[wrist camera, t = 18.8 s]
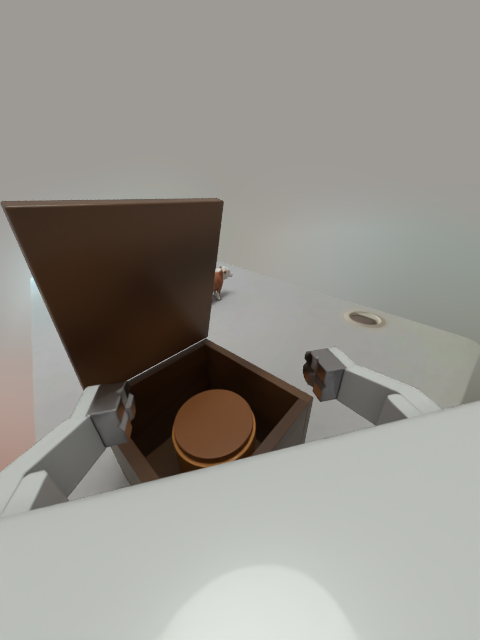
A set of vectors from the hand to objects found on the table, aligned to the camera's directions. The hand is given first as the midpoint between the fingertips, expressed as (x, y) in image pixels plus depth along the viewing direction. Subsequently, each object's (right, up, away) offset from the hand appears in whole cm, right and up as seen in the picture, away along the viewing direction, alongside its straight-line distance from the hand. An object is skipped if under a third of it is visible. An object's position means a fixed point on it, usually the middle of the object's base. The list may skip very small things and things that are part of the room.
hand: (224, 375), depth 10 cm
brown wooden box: (-2, -12, +11) cm, 17 cm away
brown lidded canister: (-1, -12, +10) cm, 16 cm away
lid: (-5, +4, +6) cm, 9 cm away
